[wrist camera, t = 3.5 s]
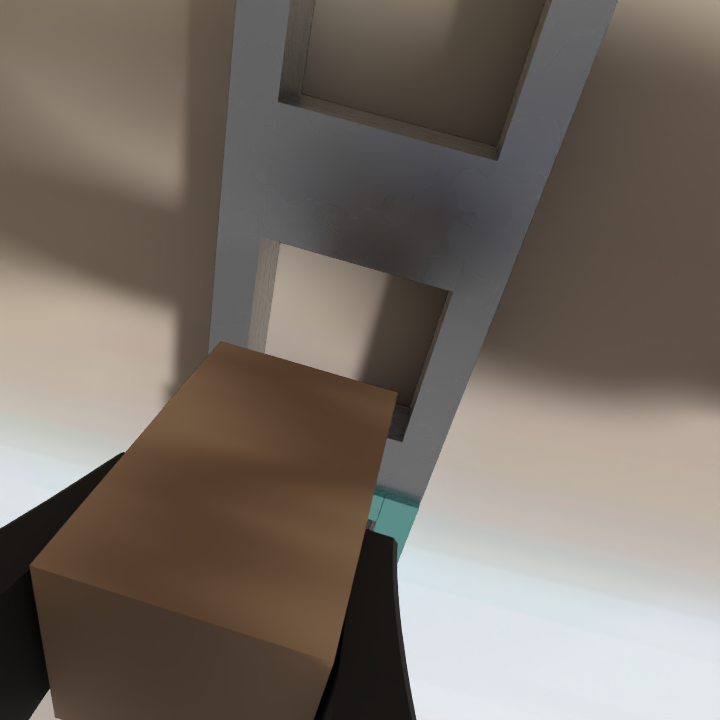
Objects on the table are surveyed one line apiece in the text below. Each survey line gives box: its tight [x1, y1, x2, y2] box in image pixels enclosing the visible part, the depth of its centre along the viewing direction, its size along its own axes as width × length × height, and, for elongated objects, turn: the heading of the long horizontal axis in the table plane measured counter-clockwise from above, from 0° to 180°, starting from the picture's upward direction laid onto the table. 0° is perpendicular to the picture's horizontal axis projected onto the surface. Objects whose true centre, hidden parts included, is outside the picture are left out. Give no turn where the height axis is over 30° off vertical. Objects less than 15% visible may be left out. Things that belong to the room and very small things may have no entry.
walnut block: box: [29, 341, 398, 720], centre depth 10 cm, size 4×4×6 cm
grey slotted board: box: [208, 0, 618, 563], centre depth 17 cm, size 8×28×2 cm, turn 168°
